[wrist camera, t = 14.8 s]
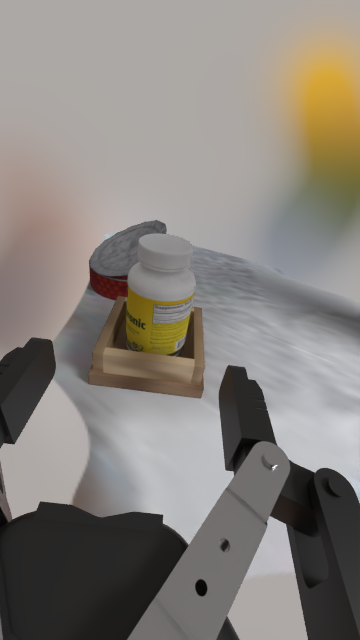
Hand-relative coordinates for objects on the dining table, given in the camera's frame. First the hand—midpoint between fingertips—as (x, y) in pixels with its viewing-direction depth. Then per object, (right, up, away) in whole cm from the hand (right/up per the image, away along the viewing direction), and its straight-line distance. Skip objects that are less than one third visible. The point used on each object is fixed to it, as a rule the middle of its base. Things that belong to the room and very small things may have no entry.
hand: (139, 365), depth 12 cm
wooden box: (-1, -1, +13) cm, 13 cm away
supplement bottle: (0, 0, +13) cm, 13 cm away
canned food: (-5, +7, +24) cm, 26 cm away
